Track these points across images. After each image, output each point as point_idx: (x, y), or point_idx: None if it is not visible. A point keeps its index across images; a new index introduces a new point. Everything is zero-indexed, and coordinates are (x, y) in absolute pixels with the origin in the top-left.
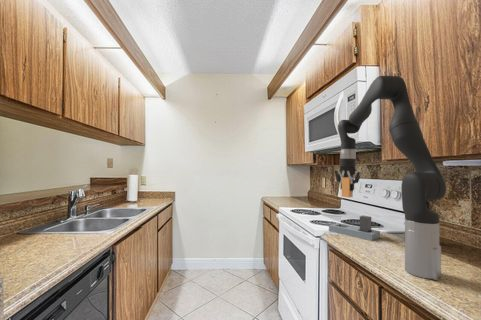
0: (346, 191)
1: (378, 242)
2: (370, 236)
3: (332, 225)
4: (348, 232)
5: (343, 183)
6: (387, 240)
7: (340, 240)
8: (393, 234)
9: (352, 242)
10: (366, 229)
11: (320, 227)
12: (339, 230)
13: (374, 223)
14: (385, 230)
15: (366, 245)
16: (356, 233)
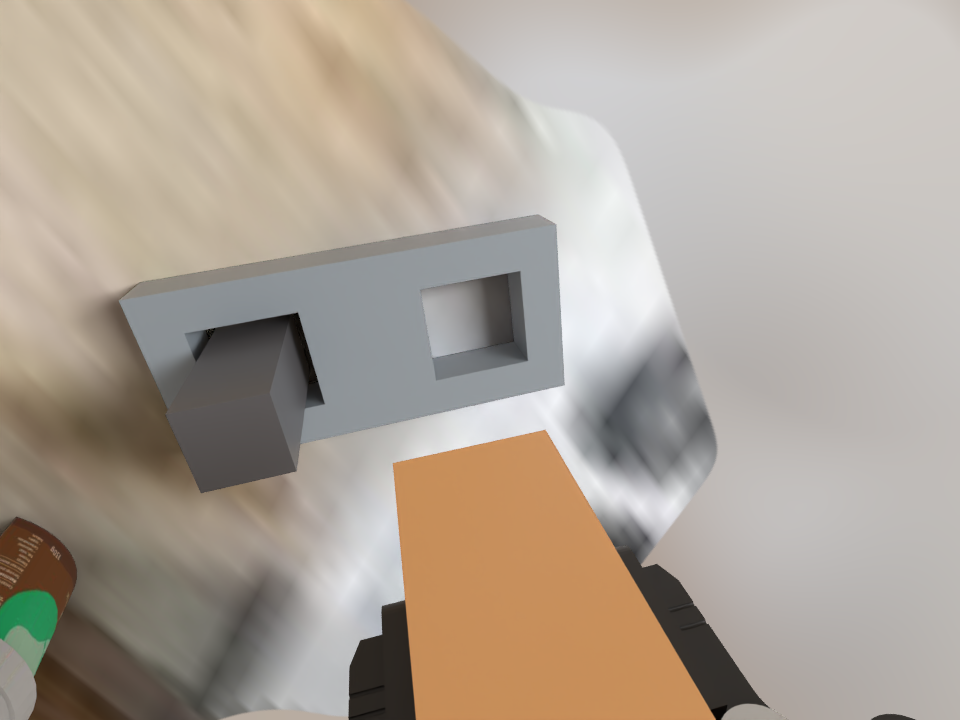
0: (466, 531)
1: (83, 296)
2: (139, 291)
3: (534, 253)
4: (354, 252)
5: (634, 700)
6: (111, 413)
7: (264, 10)
8: (228, 578)
9: (163, 62)
10: (214, 350)
11: (646, 247)
12: (442, 236)
13: None
14: (329, 609)
15: (30, 97)
16: (275, 267)
